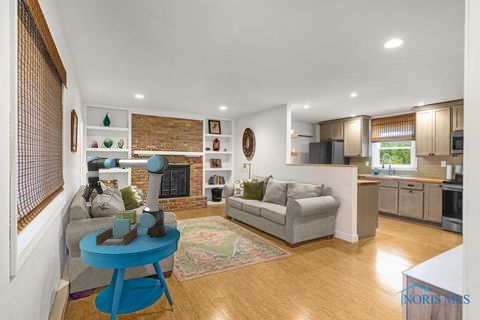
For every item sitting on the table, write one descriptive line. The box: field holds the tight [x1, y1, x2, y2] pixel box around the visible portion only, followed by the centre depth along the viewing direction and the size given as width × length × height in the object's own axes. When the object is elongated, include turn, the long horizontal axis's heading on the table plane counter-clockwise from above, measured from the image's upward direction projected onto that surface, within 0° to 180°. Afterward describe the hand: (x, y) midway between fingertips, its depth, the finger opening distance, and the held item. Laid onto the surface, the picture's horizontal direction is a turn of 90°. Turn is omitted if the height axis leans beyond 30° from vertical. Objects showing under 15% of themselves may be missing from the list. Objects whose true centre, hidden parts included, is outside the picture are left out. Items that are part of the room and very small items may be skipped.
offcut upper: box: [103, 239, 123, 244], centre depth 174 cm, size 12×5×2 cm, turn 92°
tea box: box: [115, 209, 137, 230], centre depth 216 cm, size 15×10×15 cm
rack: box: [95, 226, 138, 247], centre depth 180 cm, size 20×20×8 cm
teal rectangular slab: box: [112, 218, 132, 237], centre depth 186 cm, size 12×3×15 cm, turn 90°
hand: (94, 204), depth 184 cm, fingers open, 13 cm apart
